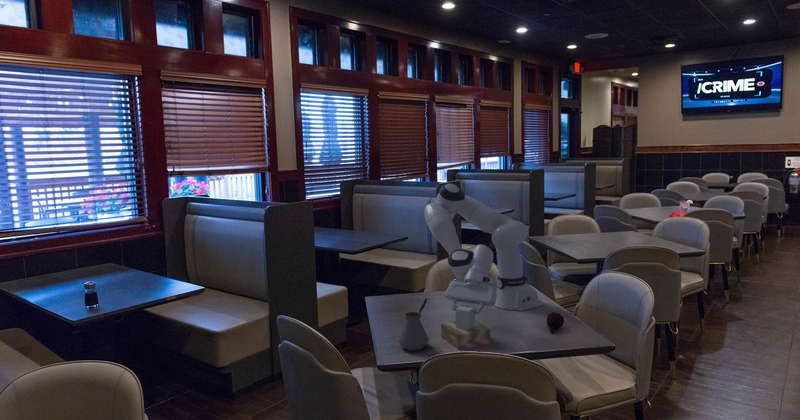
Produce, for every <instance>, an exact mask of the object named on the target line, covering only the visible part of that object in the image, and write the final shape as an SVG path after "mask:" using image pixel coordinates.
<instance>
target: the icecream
mask: <svg viewBox="0 0 800 420" xmlns="http://www.w3.org/2000/svg"><path fill="white" fill-rule="evenodd" d="M564 323H565V318H564V316H563V315H561V313H559V312H551V313H548V315H547V317H546V326H547V327H548V328H550V334H551V335H553V334H555V332H556V330H559V329H560V328H562V327H564Z"/></svg>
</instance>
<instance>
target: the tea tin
mask: <svg viewBox="0 0 800 420" xmlns="http://www.w3.org/2000/svg"><path fill="white" fill-rule="evenodd" d="M457 307H458V308H456V311H455V321H456V328H461V329H466V330H470V329H471V328H473V327H474V326H475V321H476V314H475V313H474V311H475V308H476V306H472V305H464V304H461V305H459V306H457Z"/></svg>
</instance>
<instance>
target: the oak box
mask: <svg viewBox="0 0 800 420" xmlns="http://www.w3.org/2000/svg"><path fill="white" fill-rule="evenodd" d="M440 334H441V335H440V336H441V339H442V340H444V341H446V342H447V343H448V344H450V345H451V346H453V347H454V348H456V349H457V350H463V349H468V348H472V347H473V348H474V347H478V346H484V345H488V344H491V328H489V327H487V326H485V325H484V324H483V323H481V322H479V321H477V320H475V326H474V327H473V328H471V329H470V330H466V329H461V328H456V320H455V321H454V320H453V321H449V322H444V323H440Z"/></svg>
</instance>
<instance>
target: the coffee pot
mask: <svg viewBox="0 0 800 420" xmlns="http://www.w3.org/2000/svg"><path fill="white" fill-rule="evenodd" d="M430 301H431V300H430V298H426V297H425V299H424V301H423V303H422V304H421V306H420V308H419V310H418V312H417V311H410V312H409V311H408V312H405V313H404V317H405V321H404V324H403V327H402V329H401V332H400V335H399V338H398V344H399V345H400V347H402V348H403V349H404V350H406V351H409V352H415V351H421V350H423V349H424V347H426V346H427V345H428V343H429V340H430V339H429V337H428V334H427V333H426V330H425V328H424V326H423V323H422V322H421V318H422V317H423V316H422V312H423V310H424V308H425V306H426V304H427V302H428V303H429V302H430Z"/></svg>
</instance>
